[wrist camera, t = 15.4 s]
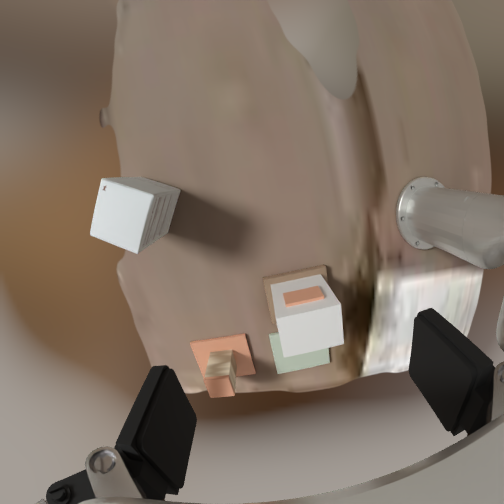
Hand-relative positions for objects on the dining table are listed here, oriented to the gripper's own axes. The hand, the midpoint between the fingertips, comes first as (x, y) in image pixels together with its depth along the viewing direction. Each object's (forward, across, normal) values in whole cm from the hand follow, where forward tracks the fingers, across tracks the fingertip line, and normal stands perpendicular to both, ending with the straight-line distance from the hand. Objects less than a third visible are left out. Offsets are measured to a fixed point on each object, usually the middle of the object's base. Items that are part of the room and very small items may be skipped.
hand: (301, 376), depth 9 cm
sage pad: (+33, -2, +23) cm, 41 cm away
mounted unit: (+33, -3, +12) cm, 36 cm away
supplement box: (+34, +16, -7) cm, 38 cm away
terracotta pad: (+33, +12, +22) cm, 42 cm away
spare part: (+33, +12, +22) cm, 41 cm away
